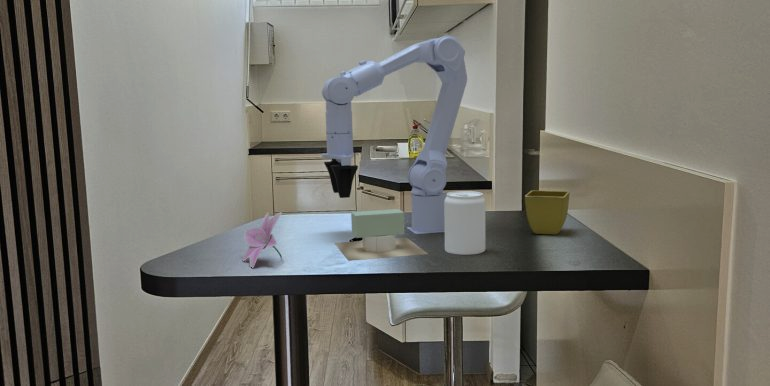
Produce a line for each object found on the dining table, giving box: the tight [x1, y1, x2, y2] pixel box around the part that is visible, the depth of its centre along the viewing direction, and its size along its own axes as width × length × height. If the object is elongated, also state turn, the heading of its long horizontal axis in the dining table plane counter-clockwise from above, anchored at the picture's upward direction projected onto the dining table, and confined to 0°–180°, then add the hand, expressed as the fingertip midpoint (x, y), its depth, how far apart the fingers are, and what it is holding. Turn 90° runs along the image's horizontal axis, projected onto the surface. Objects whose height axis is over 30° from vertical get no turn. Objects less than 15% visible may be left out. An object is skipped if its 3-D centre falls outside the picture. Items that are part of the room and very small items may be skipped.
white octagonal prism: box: [362, 235, 397, 252], centre depth 144 cm, size 6×6×3 cm
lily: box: [241, 211, 283, 268], centre depth 137 cm, size 12×12×10 cm
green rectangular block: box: [350, 208, 405, 239], centre depth 143 cm, size 10×4×4 cm, turn 104°
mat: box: [333, 237, 429, 262], centre depth 144 cm, size 16×16×1 cm
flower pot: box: [524, 189, 571, 236], centre depth 158 cm, size 9×9×9 cm
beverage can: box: [444, 190, 486, 256], centre depth 140 cm, size 8×8×12 cm
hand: (341, 194), depth 155 cm, fingers open, 7 cm apart
